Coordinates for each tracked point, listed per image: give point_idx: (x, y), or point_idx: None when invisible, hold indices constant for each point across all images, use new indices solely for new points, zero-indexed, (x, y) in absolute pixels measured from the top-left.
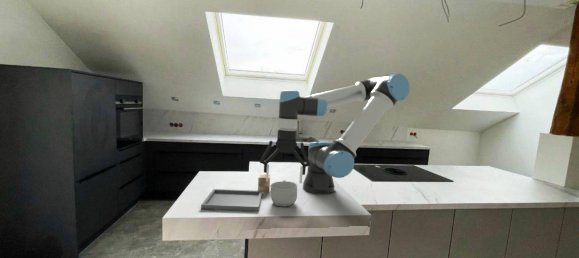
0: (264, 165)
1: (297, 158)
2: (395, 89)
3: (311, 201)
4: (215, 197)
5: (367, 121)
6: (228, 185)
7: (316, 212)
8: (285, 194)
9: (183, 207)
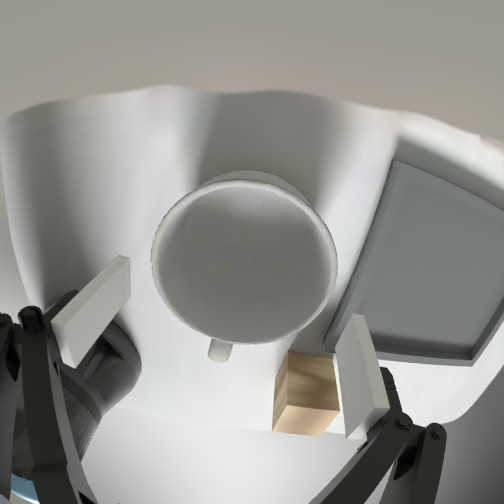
0: (400, 413)
1: (50, 409)
2: None
3: (119, 238)
4: (484, 316)
5: None
6: None
7: (123, 114)
8: (253, 176)
9: None
